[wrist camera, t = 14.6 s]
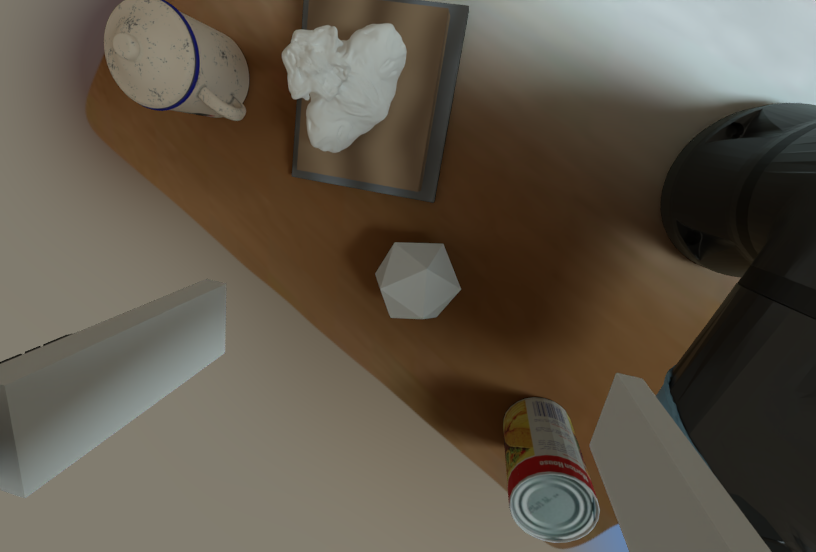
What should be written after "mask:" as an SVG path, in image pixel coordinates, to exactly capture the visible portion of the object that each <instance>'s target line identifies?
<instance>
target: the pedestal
mask: <svg viewBox="0 0 816 552" xmlns="http://www.w3.org/2000/svg"><path fill="white" fill-rule="evenodd" d="M468 13H469V6H464V5H456V4H447V3H439V2H430V1H422V0H304V3H303V18H302V29H304V30H314V29H315V28H318V27H321V26H325V25H330V26H331V27H332V26H335V27H336V28H337V31H338V38H339V39H340V40H349V39H350V37H351V35H352V34H353V33H354V32H355V31H356V30H359V29H362V28H364V27H366V26H367V25H370V24H383V23H390V24H392V25H393V26H394V27H395V30H396V31H397V32H398V33H399V34H400V35H401V37H402V41H403V42H404V44H405V46H406V51H407V54H406V62H405V66H404V68H403V70H402V72H401V74H400V76H399V78H398V81H397V87H396V93H395V96H394V98H393V100H392V101H391V104H390V108H389V111H388V114H387V116H386V118H385V119H384V120H382V121H381V122H379V123H378V124H376V125H375V126H374V127H373V128H372V129H371V130H370V131H368V132H367V133H365V134H362V135H360V136H359V137H358V138H357V139H356V140H354V142H353V143H352V144H351V145H350V146H349V147H347V148H346V149H343V150H341V151H340V152H337V153H332V152H330V151H322V150H320V149H319V148H315V147H313V146H312V145H311V142H310V140H309V136H308V132H307V122H306V119H307V117H306V110H307V106H308V104H309V103H310V102H311V97H310V99H309V100H305V99H304V98H299V99H297V107H296V121H295V136H294V151H293V165H292V177H298V178H303V179H308V180H314V181H319V182H325V183H330V184H335V185H341V186H346V187H352V188H357V189H362V190H368V191H373V192H379V193H384V194H389V195H395V196H400V197H406V198H411V199H416V200H422V201H427V202H432V203H433V202H434V201H435V196H436V190H437V185H438V179H439V174H440V168H441V162H442V157H443V151H444V146H445V140H446V135H447V129H448V124H449V118H450V113H451V107H452V102H453V96H454V90H455V85H456V79H457V74H458V68H459V63H460V57H461V52H462V46H463V41H464V35H465V29H466V24H467V18H468ZM309 96H310V94H309Z"/></svg>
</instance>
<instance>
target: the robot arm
mask: <svg viewBox="0 0 816 552" xmlns="http://www.w3.org/2000/svg"><path fill="white" fill-rule="evenodd" d="M661 215H662V220H663V224H664V227H665V230H666V232H667V234H668V236H669V238H670V240H671V241H672V243H673V244H674V246H675V247H676V248H677V249H678V250H679V251H680V252H681V253H682V254H683V255H685V256H686V257H687V258H689V259H690V260H692V261H693V262H695V263H697V264H699V265H701V266H703V267H706V268H708V269H710V270H712V271H715V272H718V273H721V274H724V275H729V276H734V277H742V278H741V279H740V280H739V282H738V283H739V284H738V283H736V285H735V286H734V287H733V289H732V290H731V292H730V293H729V294H728V296H727V297H726V298H725V300H724V301H723V303H722V304H721V305H720V307H719V308H718V309H717V311H716V312H715V314H714V315H713V316H712V318H711V319H710V321H709V322H708V323H707V325H706V326H705V327H704V329H703V330H702V331H701V333H700V334H699V335H698V337H697V338H696V339H695V340H694V342H693V343H692V344H691V346H690V347H689V348H688V350H687V351H686V352H685V354H684V355H683V356H682V358H681V359H680V360H679V362H678V363H677V364H676V365H675V366H674V367H672V368H671V369H670V370H669V371H668V372H667V374H666V376H665V380H664V384H663V386H662V387H661V389H660V391H659V392H658V394H657V395H656V396H655V395H654V393H653V392H652V391H651V389H650V388H649V387H648V385H647V384H646V383H645V381H644V380H643V379H641V378H637V377H633V376H628V375H624V374H620V373H616V375H615V378H614V380H613V383H612V386H611V388H610V391H609V394H608V397H607V399H606V402H605V405H604V407H603V410H602V413H601V415H600V418H599V421H598V423H597V426H596V429H595V431H594V434H593V437H592V440H591V442H590V445H589V446H590V449H591V451H592V454H593V457H594V459H595V462H596V465H597V467H598V470H599V473H600V475H601V478H602V481H603V483H604V486H605V488H606V491H607V494H608V496H609V499H610V502H611V504H612V507H613V510H614V512H615V515H616V518H617V520H618V523H619V525H620V528H621V531H622V533H623V536H624V538H625V541H626V544H627V547H628V549H629V552H816V105H811V104H802V103H780V104H772V105H767V106H762V107H757V108H752V109H748V110H744V111H741V112H738V113H735V114H732V115H730V116H728V117H725V118H723V119H721V120H719V121H718V122H716V123H714V124H712V125H711V126H709V127H708V128H706V129H705V130H703V131H702V132H701V133H700V134H698V135H697V136H696V137H695V138H694V139H693V140H692V141H691V142H690V143H689V144H688V145H687V146H686V147H685V148H684V149H683V150H682V152H681V153H680V154H679V156H678V157H677V159H676V160H675V162H674V163H673V165H672V167H671V169H670V171H669V173H668V175H667V178H666V180H665V183H664V187H663V191H662V197H661ZM225 326H226V283H222V282H218V281H213V280H209V279H205V280H203V281H200V282H198V283H195V284H193V285H191V286H188V287H186V288H183V289H181V290H178V291H176V292H174V293H171V294H169V295H166V296H164V297H162V298H159V299H157V300H154V301H152V302H149V303H147V304H144V305H142V306H140V307H137V308H135V309H132V310H130V311H127V312H125V313H123V314H120V315H118V316H115V317H113V318H110V319H108V320H106V321H103V322H101V323H98V324H96V325H94V326H91V327H89V328H86V329H84V330H81V331H79V332H76V333H74V334H70V335H65V336H63V337H60V338H58V339H56V340H53V341H51V342H48V343H46V344H44V345H43V346H42V347H40V346H39V347H36V348H33V349H31V350H28V351H26V352H25V354H23V355H22V354H19V355H16V356H14V357H12V358H9V359H6V360H4V361H2V362H0V490H2V491H5V492H8V493H11V494H14V495H17V496H20V497H23V498H26V497H27V496H29V495H30V494H32V493H33V492H34V491H36V490H37V489H39V488H40V487H41V486H43V485H44V484H45V483H47V482H48V481H49V480H51V479H52V478H54V477H55V476H56V475H58V474H59V473H60V472H62V471H63V470H65V469H66V468H67V467H69V466H70V465H72V464H73V463H74V462H76V461H77V460H78V459H80V458H81V457H83V456H84V455H85V454H87V453H88V452H89V451H90V450H92V449H93V448H95V447H96V446H98V445H99V444H100V443H102V442H103V441H104V440H106V439H107V438H109V437H110V436H111V435H113V434H114V433H115V432H116V431H118V430H120V429H121V428H122V427H124V426H125V425H126V424H128V423H129V422H131V421H132V420H133V419H135V418H136V417H137V416H138V415H140V414H142V413H143V412H144V411H146V410H147V409H148V408H150V407H151V406H152V405H154V404H155V403H157V402H158V401H159V400H161V399H162V398H163V397H165V396H166V395H167V394H169V393H170V392H172V391H173V390H175V389H176V388H177V387H179V386H180V385H181V384H183V383H184V382H186V381H187V380H188V379H190V378H191V377H192V376H194V375H195V374H197V373H198V372H199V371H201V370H202V369H203V368H205V367H206V366H208V365H209V364H210V363H212V362H213V361H214V360H216V359H217V358H219V357H220V356H221V355H222V354H224V353H225Z"/></svg>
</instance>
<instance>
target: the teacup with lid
mask: <svg viewBox="0 0 816 552" xmlns="http://www.w3.org/2000/svg"><path fill="white" fill-rule="evenodd" d="M104 51H105V57H106V61H107V64H108V67H109V70H110V72H111V74H112V76H113V78H114V80H115V81H116V83H117V84H118V86H119V87H120V88H121V89H122V91H123V92H124V93H125V94H126V95H127V96H128V97H130V98H131V99H132V100H134V101H135V102H137V103H138V104H140V105H142V106H144V107H146V108H149V109H152V110H159V111H164V110H173V111H179V112H185V113H190V114H196V115H202V116H207V117H213V118H221V117H225V118H228V119H230V120H234V121H239V120H242V119H243V118H244V116H245V114H246V108H245V106H244V105H243V104H242V103H243V102H244V100H245V98H246V95H247V92H248V88H249V70H248V66H247V62H246V60H245V57H244V55H243V53H242V51H241V50H240V48H239V47H238V46H237V44H236V43H235V42H234V41H233V40H232V39H231V38H229V37H228V36H226V35H225V34H223V33H221V32H219V31H217V30H215V29H213V28H211V27H209V26H207V25H205V24H203V23H201V22H199V21H197V20H195V19H193V18H192V17H190V16H188V15H186V14H184V13H182V12H180V11H178V10H177V9H176V8H175V7H174V6H173V5H171V4H170V3H168V2H166V1H165V0H124V1H123V2H121V3H120V4H119V5H118V6H117V7H116V8H115V9H114V10H113V12H112V13H111V15H110V17H109V19H108V22H107V24H106V28H105V33H104Z"/></svg>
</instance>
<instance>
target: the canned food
mask: <svg viewBox="0 0 816 552" xmlns="http://www.w3.org/2000/svg"><path fill="white" fill-rule="evenodd" d="M503 432H504V445H505V458H506V471H507V484H508V495H509V496H508V497H509V508H510V512H511V515H512V517H513V519H514V521H515V522H516V524H517V525H518V526H519V527H520V528H521V529H522V530H523V531H525V532H526V533H528V534H529V535H531V536H533V537H535V538H537V539H540V540H543V541H547V542H554V543H561V542H570V541H574V540H577V539H580V538H581V537H583V536H585V535H587V534H588V533H589V532H590V531H591V530H592V529H593V528H594V527H595V525H596V523H597V521H598V519H599V512H600V509H599V504H598V500H597V497H596V494H595V491H594V488H593V485H592V482H591V479H590V476H589V473H588V471H587V468H586V465H585V462H584V459H583V456H582V453H581V450H580V447H579V444H578V441H577V438H576V435H575V432H574V430H573V427H572V424H571V421H570V418H569V416H568V414H567V413H566V411H565V410H564V409H563V408H562V407H561V406H560V405H558V404H557V403H555V402H553V401H551V400H548V399H545V398H537V397H532V398H525V399H523V400H520V401H518V402H516V403H515V404H513V405H512V406H511V407H510V408H509V409H508V411H507V412H506V414H505V416H504V419H503Z"/></svg>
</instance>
